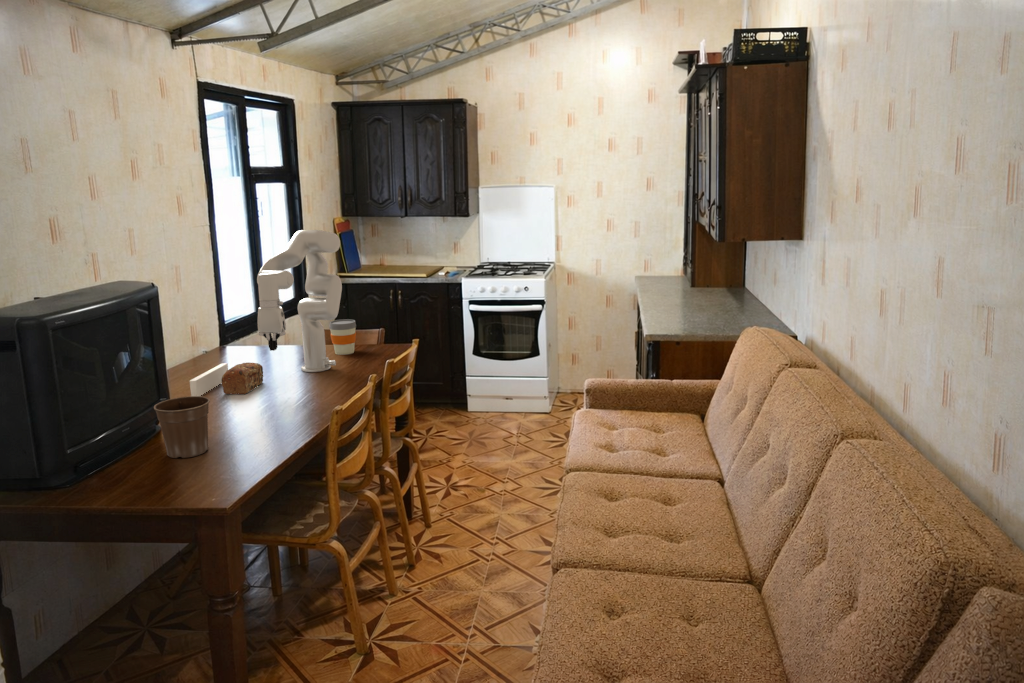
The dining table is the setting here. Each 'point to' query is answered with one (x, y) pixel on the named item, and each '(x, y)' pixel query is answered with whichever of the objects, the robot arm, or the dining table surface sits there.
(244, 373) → the bread
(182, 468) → the dining table surface
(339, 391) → the dining table surface
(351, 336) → the reusable coffee cup
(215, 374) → the board
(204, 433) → the plant pot
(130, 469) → the dining table surface
